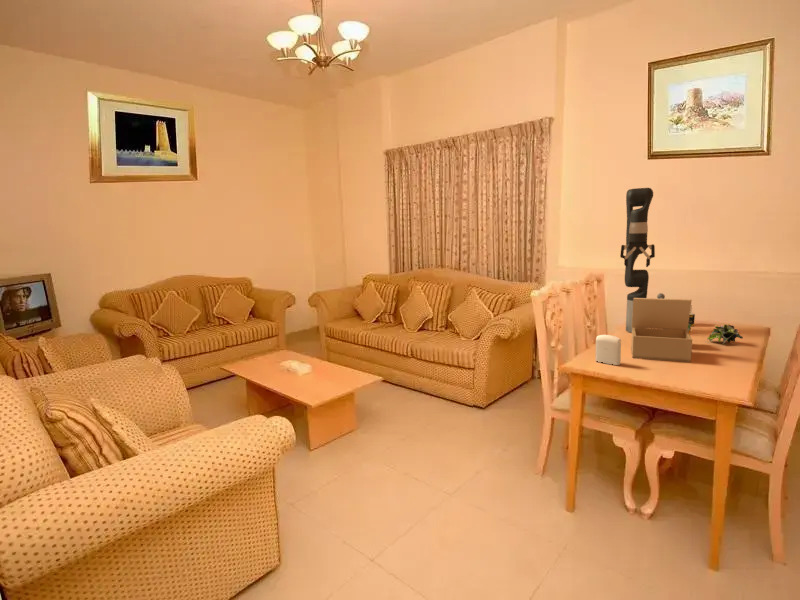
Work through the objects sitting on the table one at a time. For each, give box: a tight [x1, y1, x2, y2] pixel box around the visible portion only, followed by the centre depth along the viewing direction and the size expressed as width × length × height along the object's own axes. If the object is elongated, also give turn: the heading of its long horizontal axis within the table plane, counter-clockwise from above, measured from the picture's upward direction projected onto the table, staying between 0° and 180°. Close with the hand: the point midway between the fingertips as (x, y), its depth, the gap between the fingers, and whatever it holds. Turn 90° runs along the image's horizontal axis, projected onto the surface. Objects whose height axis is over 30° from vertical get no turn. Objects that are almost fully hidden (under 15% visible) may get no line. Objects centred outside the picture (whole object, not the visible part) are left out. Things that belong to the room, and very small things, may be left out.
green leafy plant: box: [706, 323, 744, 346], centre depth 215 cm, size 11×11×12 cm
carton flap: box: [632, 293, 692, 330], centre depth 207 cm, size 16×22×6 cm
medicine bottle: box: [688, 304, 696, 328], centre depth 251 cm, size 7×7×12 cm
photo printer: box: [595, 334, 622, 366], centre depth 195 cm, size 10×4×12 cm, turn 45°
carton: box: [630, 328, 693, 363], centre depth 203 cm, size 16×22×10 cm
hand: (636, 266), depth 213 cm, fingers open, 8 cm apart
